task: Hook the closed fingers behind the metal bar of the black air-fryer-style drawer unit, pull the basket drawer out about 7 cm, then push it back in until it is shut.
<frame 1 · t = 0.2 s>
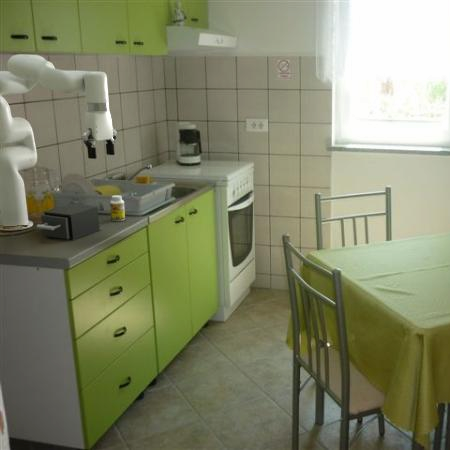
hand: (101, 156, 209), 31 cm above the countertop, tool pointing down, fingers open, 9 cm apart
drawer: (62, 224, 219), point 5 cm above the countertop, slide at 1.0 cm
supplement bottle: (118, 220, 245), on the countertop
fryer: (73, 233, 225), on the countertop
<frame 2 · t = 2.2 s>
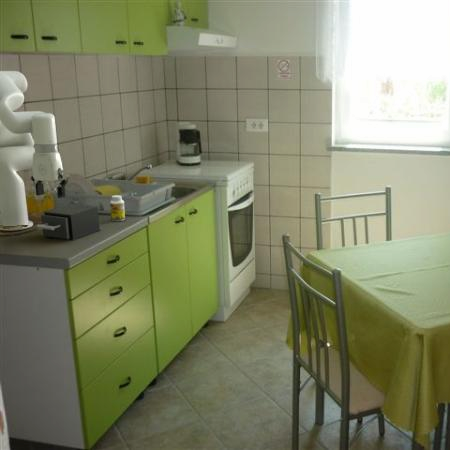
hand: (51, 196, 211), 17 cm above the countertop, tool pointing down, fingers open, 9 cm apart
nothing on the countertop moved.
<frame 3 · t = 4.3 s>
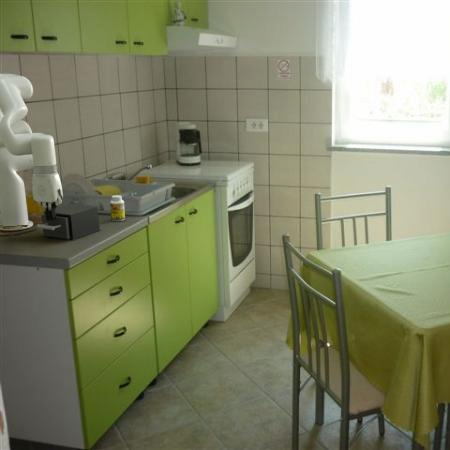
hand: (51, 219, 213), 8 cm above the countertop, tool pointing down, fingers closed
nothing on the countertop moved.
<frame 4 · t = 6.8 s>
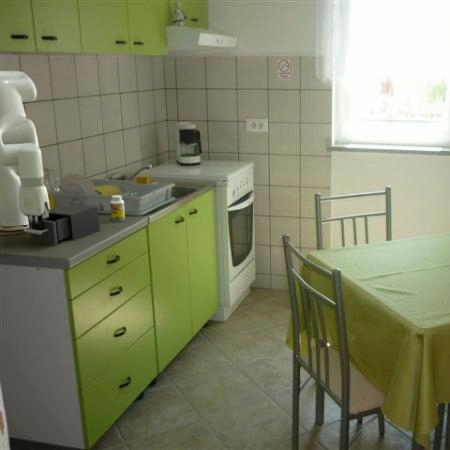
hand: (37, 232, 208), 5 cm above the countertop, tool pointing down, fingers closed
drawer: (50, 228, 214), point 5 cm above the countertop, slide at 7.0 cm
everything else where it was.
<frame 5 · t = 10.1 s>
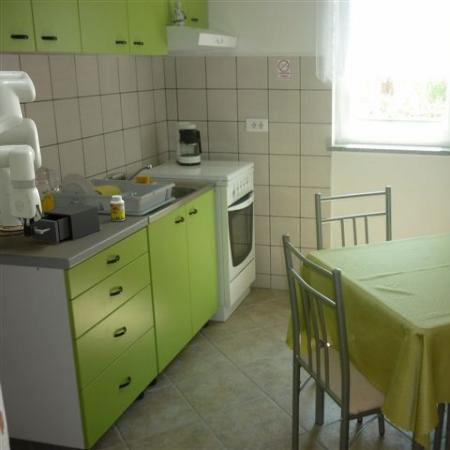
hand: (29, 235, 205), 5 cm above the countertop, tool pointing down, fingers closed
drawer: (52, 227, 214), point 5 cm above the countertop, slide at 6.2 cm, touching gripper
everything else where it was.
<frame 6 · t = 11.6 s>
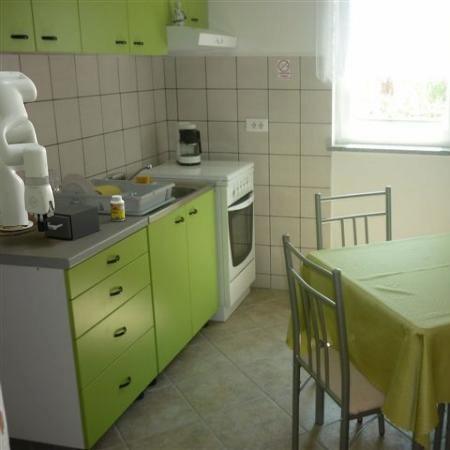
hand: (43, 231, 210), 5 cm above the countertop, tool pointing down, fingers closed
drawer: (64, 223, 220), point 5 cm above the countertop, slide at 0.0 cm, touching fryer, gripper
everything else where it was.
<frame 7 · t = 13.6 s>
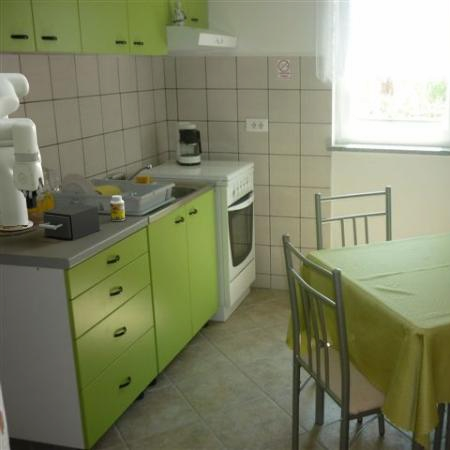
hand: (31, 207, 209), 13 cm above the countertop, tool pointing down, fingers closed
drawer: (64, 223, 220), point 5 cm above the countertop, slide at 0.0 cm, touching fryer
everything else where it was.
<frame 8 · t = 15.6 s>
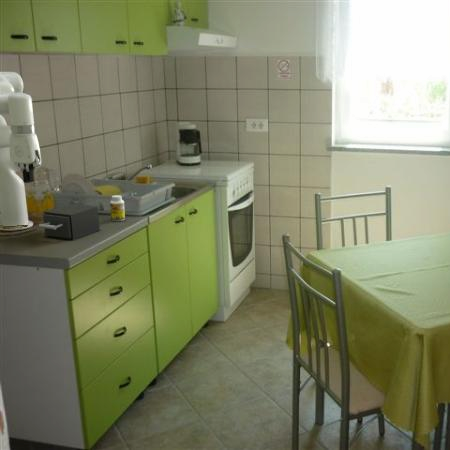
hand: (28, 182, 208), 22 cm above the countertop, tool pointing down, fingers closed
nothing on the countertop moved.
at the end: drawer pulled out 7.6 cm at the most during the clip and back in by the end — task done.
